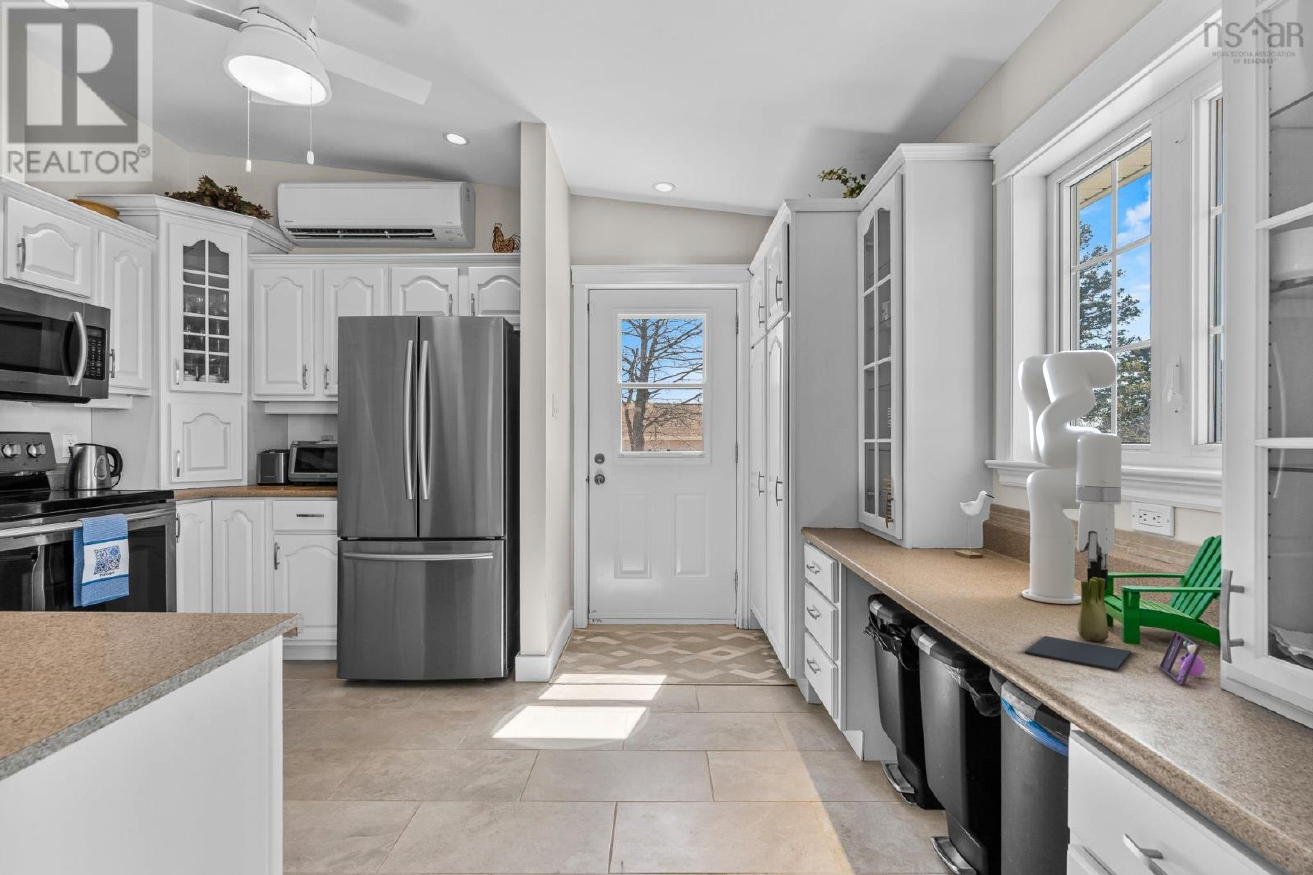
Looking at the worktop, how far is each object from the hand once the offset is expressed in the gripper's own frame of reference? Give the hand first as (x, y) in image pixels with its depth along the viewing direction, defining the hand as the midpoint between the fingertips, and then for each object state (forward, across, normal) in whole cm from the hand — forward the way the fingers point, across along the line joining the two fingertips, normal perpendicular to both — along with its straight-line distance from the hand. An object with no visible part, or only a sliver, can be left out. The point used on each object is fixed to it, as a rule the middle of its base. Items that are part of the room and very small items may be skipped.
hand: (1097, 588), depth 139 cm
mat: (+9, +16, 0) cm, 18 cm away
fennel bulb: (+9, +4, 0) cm, 10 cm away
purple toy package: (+10, +19, +16) cm, 27 cm away
